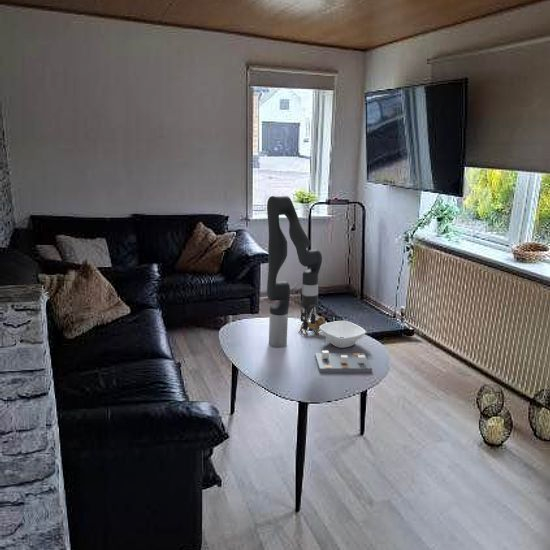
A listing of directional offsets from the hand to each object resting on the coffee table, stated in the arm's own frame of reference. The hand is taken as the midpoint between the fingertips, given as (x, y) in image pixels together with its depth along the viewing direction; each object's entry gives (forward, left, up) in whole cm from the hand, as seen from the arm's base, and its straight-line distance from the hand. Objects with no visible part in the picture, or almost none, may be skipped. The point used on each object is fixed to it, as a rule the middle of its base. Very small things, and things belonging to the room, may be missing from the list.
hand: (309, 326), depth 231 cm
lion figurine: (-34, +7, -18) cm, 39 cm away
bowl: (-19, +20, -18) cm, 33 cm away
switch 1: (+2, +8, -15) cm, 17 cm away
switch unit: (+4, +16, -17) cm, 24 cm away
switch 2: (+7, +16, -15) cm, 23 cm away
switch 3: (+7, +24, -15) cm, 29 cm away
